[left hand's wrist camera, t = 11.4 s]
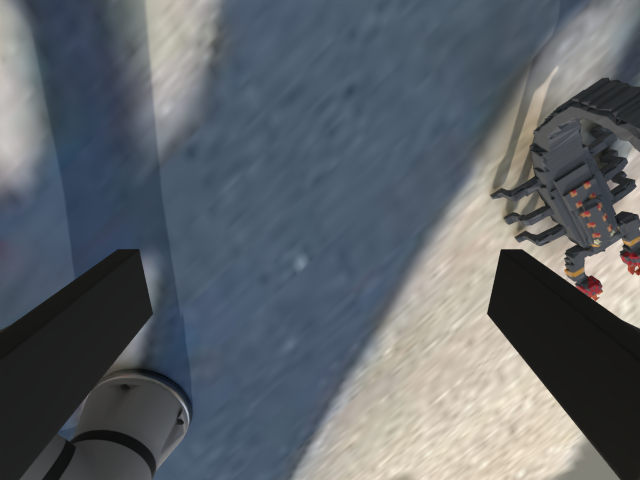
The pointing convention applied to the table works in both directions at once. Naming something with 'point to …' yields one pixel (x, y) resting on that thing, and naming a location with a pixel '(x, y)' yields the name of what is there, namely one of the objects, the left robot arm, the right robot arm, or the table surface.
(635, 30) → the table surface
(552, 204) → the toy
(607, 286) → the table surface
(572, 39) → the table surface
